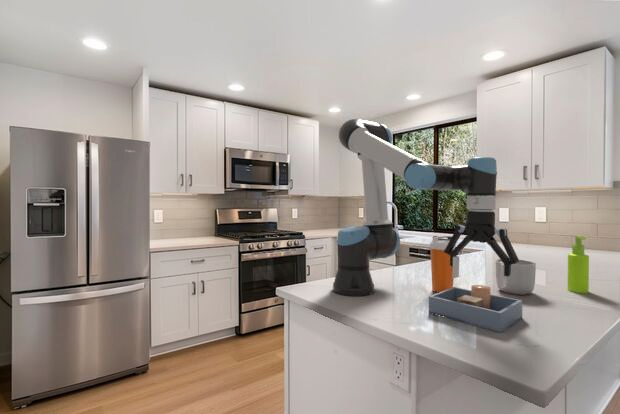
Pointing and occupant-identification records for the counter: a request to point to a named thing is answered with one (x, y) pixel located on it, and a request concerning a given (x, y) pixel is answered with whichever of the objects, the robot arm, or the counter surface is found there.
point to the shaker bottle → (441, 264)
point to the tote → (476, 309)
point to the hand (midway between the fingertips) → (478, 282)
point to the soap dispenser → (578, 268)
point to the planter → (518, 277)
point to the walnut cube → (471, 301)
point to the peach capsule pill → (482, 294)
